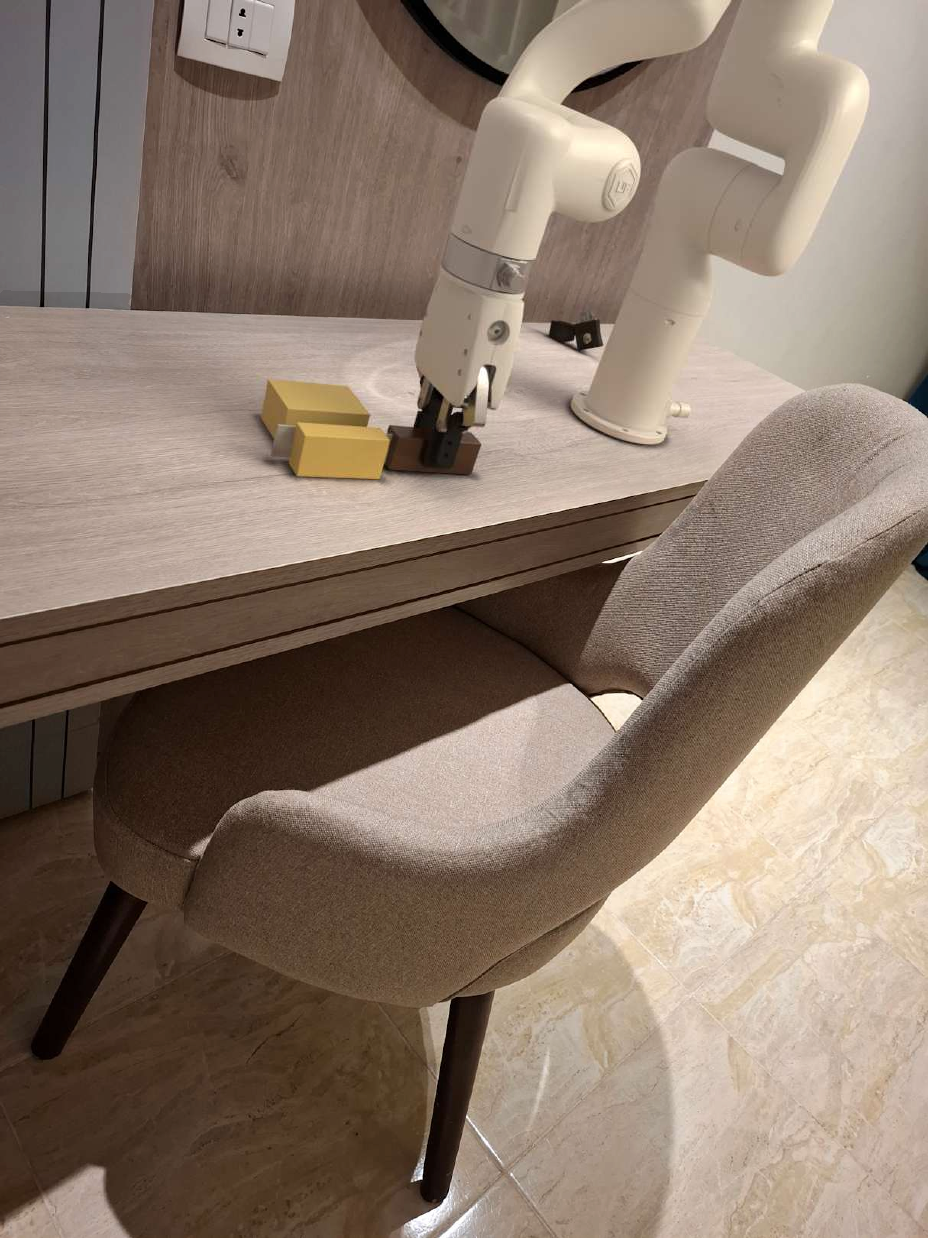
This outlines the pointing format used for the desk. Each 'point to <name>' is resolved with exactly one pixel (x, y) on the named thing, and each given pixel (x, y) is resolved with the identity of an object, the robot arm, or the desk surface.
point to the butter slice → (338, 451)
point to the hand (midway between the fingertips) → (429, 457)
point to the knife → (399, 449)
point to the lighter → (578, 332)
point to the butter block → (311, 405)
